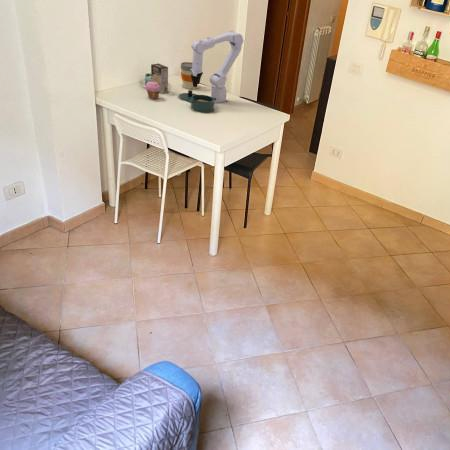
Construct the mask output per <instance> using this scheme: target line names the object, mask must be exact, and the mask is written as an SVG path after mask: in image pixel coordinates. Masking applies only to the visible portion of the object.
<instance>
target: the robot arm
mask: <svg viewBox="0 0 450 450" xmlns="http://www.w3.org/2000/svg"><path fill="white" fill-rule="evenodd" d="M224 42H228V43H229V44H230V51H229V52H228V54H227V55H226V57H225V59H224V60H223V62H222V64H221V66H220V67H219V69H218V70H215V72H214V73H213V74H211V76H210V77H209V82H210V83H211V86H210V87H211V88H210V89H211V91H210V97H212V98H213V97H214V98H216V100H214V104H217V103H224V102H227V91H228V90H227V87H225V86H226V82H227V80H228V79H227V75H228V73H229V71H230V70H231V68H232V66H233V65H234V63H235V61H236V60H237V58H238V56H239V55H240V53H241V51H242V47H243V44H244V38H243V35H242V34H241V33H238V32H236V31H234V30H228V31H225V32H224V33H222V34H220V35H218V36H215V37H211V36H207V37H206V38H203V39H199V40H195V41H193V43H192V44H191V49H192V63H193V66H192V69H190V70H191V71H192V72H193V74H191V78H192V82H193V87H198V85H200V82H201V79H202V75H203V74H204V72H203V57H204V52H205V51H207V50H209V49H212V48H215V45H217V44H220V43H224Z"/></svg>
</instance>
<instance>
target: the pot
mask: <svg viewBox="0 0 450 450" xmlns="http://www.w3.org/2000/svg"><path fill="white" fill-rule="evenodd" d="M198 100H206V101H208V102H203V101H198ZM214 100H216V98H214V97H213V98H212V97H211V95H207V94H197V95H193V96H192V97H191V100H188V101H187V102H188V103H189V104H190V107H191V110H192V111H195V112H198V113H213V111H214V109H215V108H214V106H215V102H214Z"/></svg>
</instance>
